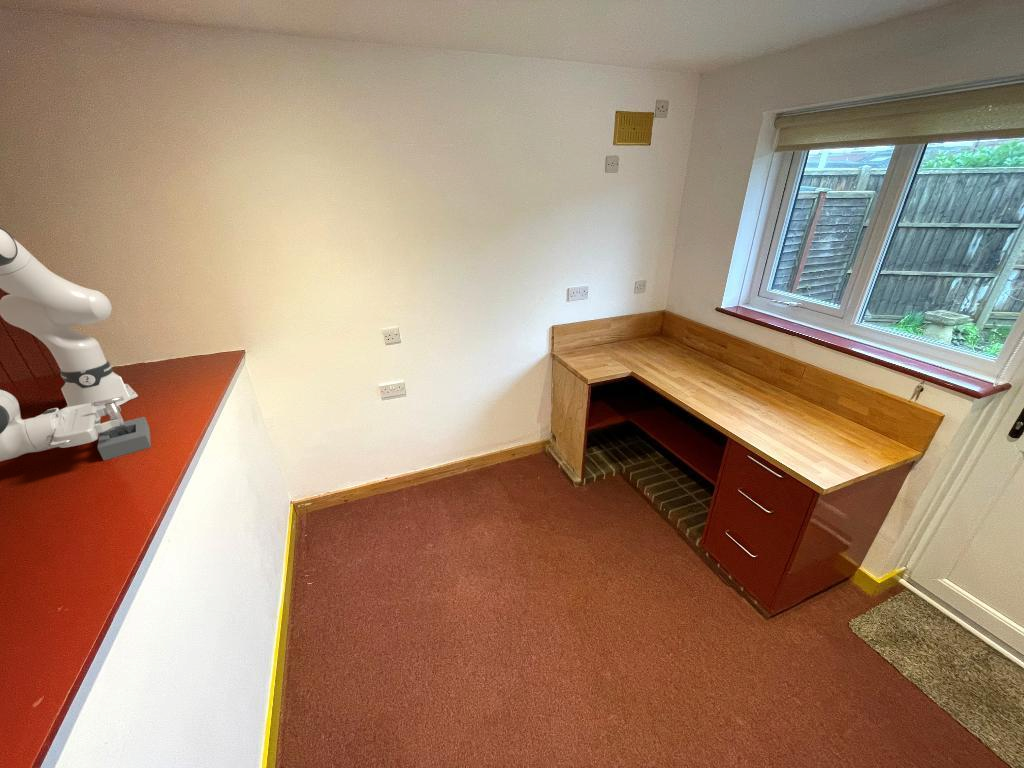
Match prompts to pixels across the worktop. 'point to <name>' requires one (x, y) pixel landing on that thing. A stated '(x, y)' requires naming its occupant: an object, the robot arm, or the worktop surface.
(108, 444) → the grey block with hole
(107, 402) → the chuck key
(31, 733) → the worktop surface
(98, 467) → the worktop surface
